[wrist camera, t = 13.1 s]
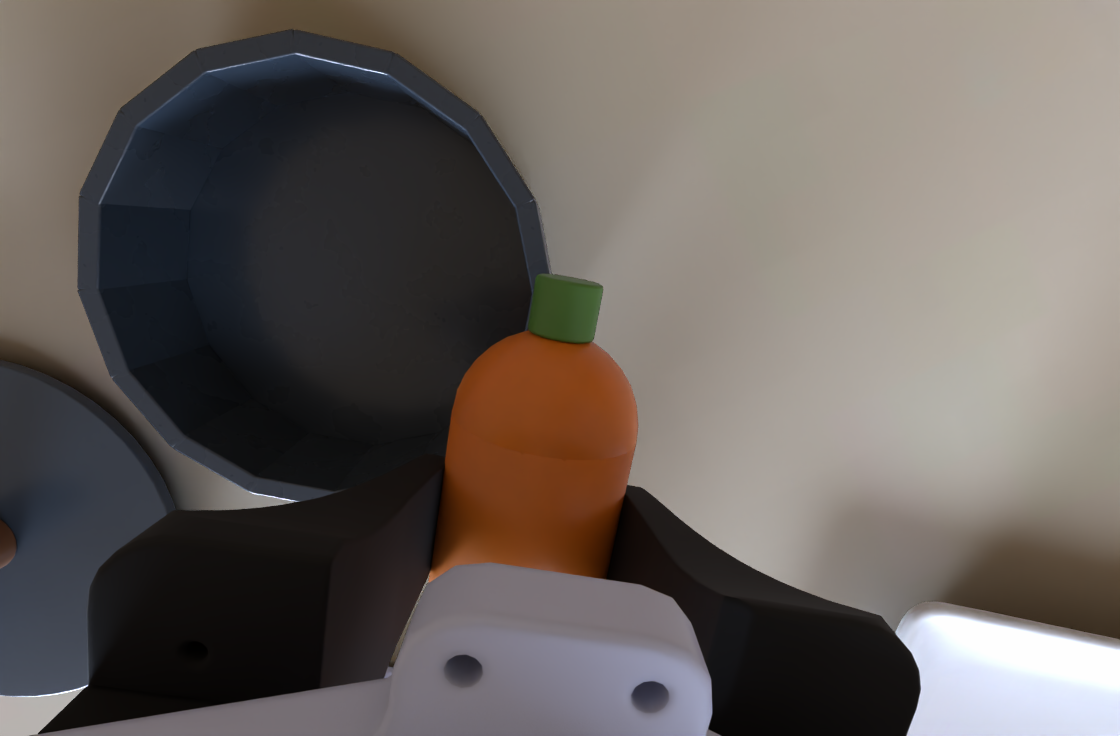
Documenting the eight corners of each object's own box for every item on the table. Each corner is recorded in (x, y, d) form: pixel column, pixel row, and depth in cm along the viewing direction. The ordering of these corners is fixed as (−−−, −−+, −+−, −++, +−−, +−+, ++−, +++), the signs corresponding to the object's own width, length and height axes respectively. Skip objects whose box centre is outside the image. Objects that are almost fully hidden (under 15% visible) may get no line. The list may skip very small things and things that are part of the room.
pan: (579, 418, 22) (585, 464, 17) (247, 478, 22) (171, 538, 18) (508, 44, 19) (494, -15, 14) (126, 122, 19) (-1, 89, 15)
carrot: (576, 637, 16) (583, 769, 12) (433, 617, 16) (394, 744, 12) (649, 287, 14) (688, 307, 10) (484, 257, 13) (456, 267, 9)
